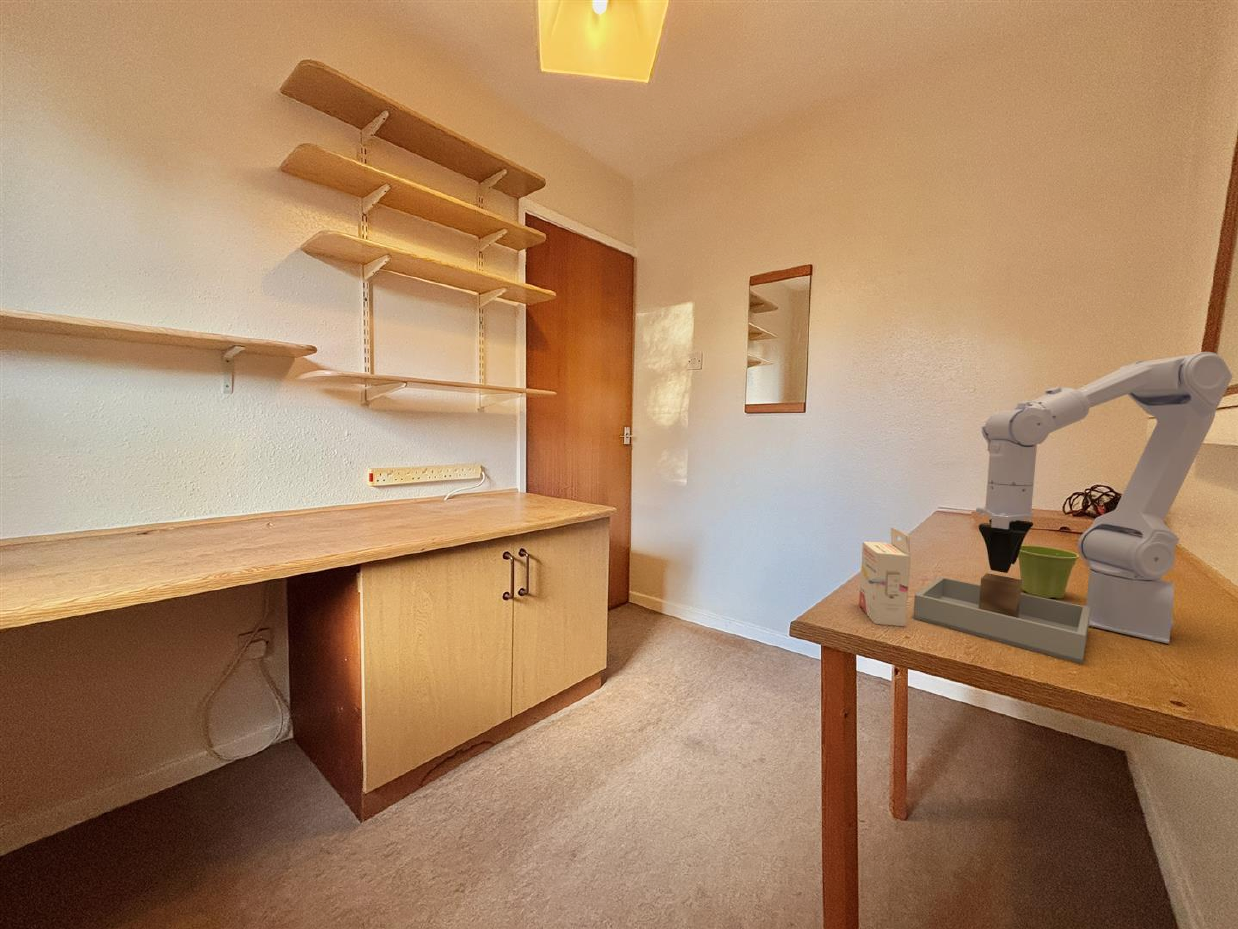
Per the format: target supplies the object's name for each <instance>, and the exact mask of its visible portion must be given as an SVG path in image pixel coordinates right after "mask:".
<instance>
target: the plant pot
mask: <svg viewBox="0 0 1238 929" xmlns="http://www.w3.org/2000/svg"><path fill="white" fill-rule="evenodd" d="M1080 557H1081V555H1080V554H1079V553H1076V552H1073V551H1070V550H1065V549H1062V548H1061V549H1060V548H1054V547H1048V546H1043V545H1042V546H1041V545H1033V544H1030V545H1028V544H1027V545H1026V544H1022V545H1021V548H1020V552H1019V555H1018V558H1017V559H1018V565H1019V566H1018V567H1019V572H1020V573H1019V574H1020V575H1019V577H1020V580H1022V583H1021V591H1022V592H1026V594H1028V595H1032V596H1037V597H1042V598H1047V599H1051V598H1055V599H1058V600H1060V599H1063V598H1064V597H1065V593H1066V590H1067V586H1068V582H1069V579H1070V575H1071V574H1072V573H1071V572H1072V569H1073V567H1074V566H1075V565H1076V563H1077V560H1079V559H1080Z"/></svg>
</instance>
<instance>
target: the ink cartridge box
mask: <svg viewBox="0 0 1238 929" xmlns="http://www.w3.org/2000/svg"><path fill="white" fill-rule="evenodd" d="M890 536H891V537H890V540H891V542H878V541H865V540H864V541H862V548H861V549H862V550H861V551H862V552H861V554H862V555H861V568H860V569H861V570H860V585H859V598H858V599H859V600H858V606H859V605H860V606H861V607H862V608H863V609H862V608H861V607H860V606H859V607H860V608H861V609H862V610H863V612H864V611H865V612H864V613H865V614H866V613H867V614H866V615H867V617H868V616H869V617H868V618H869V619H870V620H871V619H872V620H871V621H873V622H874V623H873V622H872V623H873V624H874V625H884V626H894V627H906V626H907V612H908V598H909V597H908V595H909V580H910V568H911V566H910V565H911V545H910V544H911V542H910V541H911V540H910V536H909V535H908V534H907V533H904V532H903V531H902V530H900V529H897V528H895V527H894V526H891V527H890ZM898 537H900V539H901V540H902V541H900V540H899V539H898Z"/></svg>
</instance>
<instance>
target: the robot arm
mask: <svg viewBox="0 0 1238 929" xmlns="http://www.w3.org/2000/svg"><path fill="white" fill-rule="evenodd" d="M1232 379H1233V374H1232V372H1231V371H1230V369H1229V367H1228V365H1227V363H1226V361H1225V360H1224V359H1223V357H1222V356H1221V355H1219V354H1217V353H1215V352H1211V351H1201V352H1197V353H1195V354H1187V355H1186V354H1185V355H1180V356H1173V357H1172V356H1171V357H1166V358H1158V359H1151V360H1146V359H1145V360H1138V361H1135V362H1132V363H1131V364H1127V365H1123V366H1121V367H1120V368H1118V369H1117V370H1115V371H1113V372H1111V373H1109V374H1106V375H1104V376H1102V377H1100V378H1098V379H1096V380H1093V381H1092V382H1089V383H1088V384H1086V385H1083V386H1081V387H1079V388H1077V389H1075V388H1071V387H1062V388H1061V386H1060V387H1059V386H1058V387H1057V386H1056V387H1051V388H1048V389H1046V390H1045V391H1044V393H1045V394H1044V395H1040V396H1038V397H1037V398H1035V399H1032V400H1023V401H1020V402H1018V403H1017V404H1016V405H1017V406H1015V408H1013V409H1005V410H1003V409H1002V410H997V411H995V412H994V413H992V414H991V415H990V416H989V418H987V420H986V422H985V424H984V425H983V426H981V434H982V437H983V438H984V439H985V441H986V443H987V449H986V450H987V452H988V455H989V457H988V471H987V484H986V495H985V507H980V506H979V507H976V509H975V512H976V513H977V514H978V513H979V514H984V515H986V516H987V517H989V518H991V519H989V520H988V522H989V524H986V523H985V524H984V523H980V524H979V525H978V530H979V532H980V535H981V536H982V538H983V540H984V543H985V547H986V552H987V558H988V565H989V567H990V570H991V571H994V572H998V573H1004V574H1008V573H1009V571H1010V568H1011V566H1012V565H1015V564H1016V563H1017V561H1018V559H1019V558H1018V555H1019V552H1020V548H1021V545H1023V542H1024V539H1025V538H1026V536H1027V534H1028V533H1029V531H1030V529H1031V528H1032V527H1033V526H1034V522H1032V521H1027V520H1032V519H1033V515H1034V514H1033V512H1032V509H1033V508H1032V506H1033V497H1034V485H1035V484H1034V483H1035V473H1036V472H1035V471H1036V460H1037V450H1038V449H1037V448H1038V445H1040V444H1042V443H1044V441H1046V440H1047V439H1048V436H1049V434H1051V433H1054V432H1055V431H1057V430H1060V429H1063V428H1065V427H1067V426H1070V425H1072V424H1076V423H1077V422H1080V421H1082V420H1084V419H1085V418H1086V417H1087V416H1088V415H1089V412H1090V409H1091V408H1094V407H1095V406H1099V405H1101V404H1103V403H1104V404H1105V403H1107V402H1110V401H1113V400H1115V399H1118V398H1121V397H1124V396H1128V397H1129V398H1130V399H1132V400H1133V401H1134V403H1136V404H1137V405H1138V406H1139V407H1140V408H1141V410H1143V411H1144V412H1145V413H1146V414H1147V415H1150V416H1152V417H1154V419H1155V420H1156V424H1155V427H1154V429H1153V431H1152V432H1151V435H1150V437H1149V439H1148V441H1147V443H1146V444H1145V445H1146V446H1145V448H1144V449H1143V452H1142V454H1141V455H1140V458H1139V459H1138V461H1137V464H1136V466H1135V468H1134V470H1133V472H1132V474H1131V476H1130V478H1129V481H1128V482H1127V485H1126V486H1125V488H1124V491H1123V493H1122V495H1121V497H1120V499H1119V501H1118V504H1117V506H1116V508H1115V509H1114V510H1112V511H1109V512H1107V513H1104V514H1102V515H1100V516H1097V517H1096V518H1094V520H1093V522H1092V523H1091V526H1090V527H1089V528H1088V529H1086V530H1085V531H1084V532H1083V533H1081V535H1080V536H1079V539H1078V542H1077V551H1078V554H1079V556H1080V557H1081V558H1083V559H1084V560H1085V567H1088V568H1089V572H1088V573H1089V574H1088V582H1087V583H1088V584H1087V593H1086V604H1085V606H1086V607H1090V616H1089V626H1088V627H1092V628H1097V629H1101V630H1105V631H1106V630H1107V631H1111V632H1114V633H1118V634H1119V633H1120V634H1124V635H1127V636H1133V637H1137V638H1141V639H1145V640H1149V641H1154V642H1159V643H1163V644H1170V639H1171V638H1170V637H1171V631H1172V630H1173V629H1174V618H1173V610H1174V609H1173V608H1174V603H1175V602H1174V600H1175V583H1174V582H1172V581H1170V580H1164V579H1162V578H1163V576H1165V575H1167V574H1169V572H1170V571H1171V570H1172V568H1173V567H1174V564H1175V560H1176V557H1175V556H1176V554H1175V553H1176V547H1177V544H1178V542H1179V540H1180V539H1179V536H1177V534H1176V533H1175V532H1173V531H1172V530H1171V528H1169V526H1168V525H1166V524H1165V521H1166V519H1167V516H1168V514H1169V512H1170V510H1171V508H1172V506H1173V504H1174V502H1175V500H1176V498H1177V496H1178V494H1179V493H1180V490H1181V489H1182V486H1183V483H1184V482H1185V479H1186V478H1187V476H1188V473H1189V472H1190V469H1191V467H1192V466H1193V463H1194V461H1195V460H1196V457H1197V455H1198V453H1199V451H1200V449H1201V447H1202V445H1203V443H1204V441H1205V439H1206V437H1207V434H1208V433H1209V431H1210V429H1211V427H1212V424H1213V422H1214V420H1215V417H1216V411H1217V410H1218V407H1219V406H1220V403H1221V401H1222V399H1223V397H1224V395H1225V393H1226V391H1227V388H1228V387H1229V385H1230V383H1231V381H1232Z"/></svg>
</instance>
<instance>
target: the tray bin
mask: <svg viewBox="0 0 1238 929" xmlns="http://www.w3.org/2000/svg"><path fill="white" fill-rule="evenodd" d="M980 585H981V584H980V583H979V584H978V583H975V582H969V581H965V580H964V581H963V580H959V579H953V578H950V577H945V576H939V577H937V578H935V580H933V581H932V582H930V583H929V584H927V586H925V587H923V588H922V589H921V590H920V591H918V592H917V593H915V594H914V598H913V600H914V602H913V603H914V604H913V613H912V614H913V616H912V618H913V619H914V620H917V621H922V622H924V623H928V624H932V625H935V626H940V627H943V628H947V629H951V630H955V631H958V632H962V633H965V634H968V635H973V636H976V637H980V638H984V639H986V640H991V641H994V642H999V643H1002V644H1005V645H1009V646H1013V647H1017V648H1020V649H1024V650H1027V651H1031V652H1034V653H1039V654H1042V655H1046V656H1050V657H1054V658H1057V659H1061V660H1064V661H1068V662H1073V663H1075V664H1080V665H1083V664H1084V656H1085V653H1086V652H1085V651H1086V646H1087V640H1088V635H1089V634H1088V633H1089V627H1090V626H1089V616H1090V607H1086V605H1081V604H1076V603H1072V602H1071V603H1070V602H1067V601H1060V600H1056V599H1051V598H1043V597H1039V596H1034V595H1031V594H1029V593H1022V592H1021V594H1020V606H1019V617H1018V618H1016V617H1011V616H1007V615H1003V614H999V613H995V612H990V611H986V610H982V609H979V597H980Z"/></svg>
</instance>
